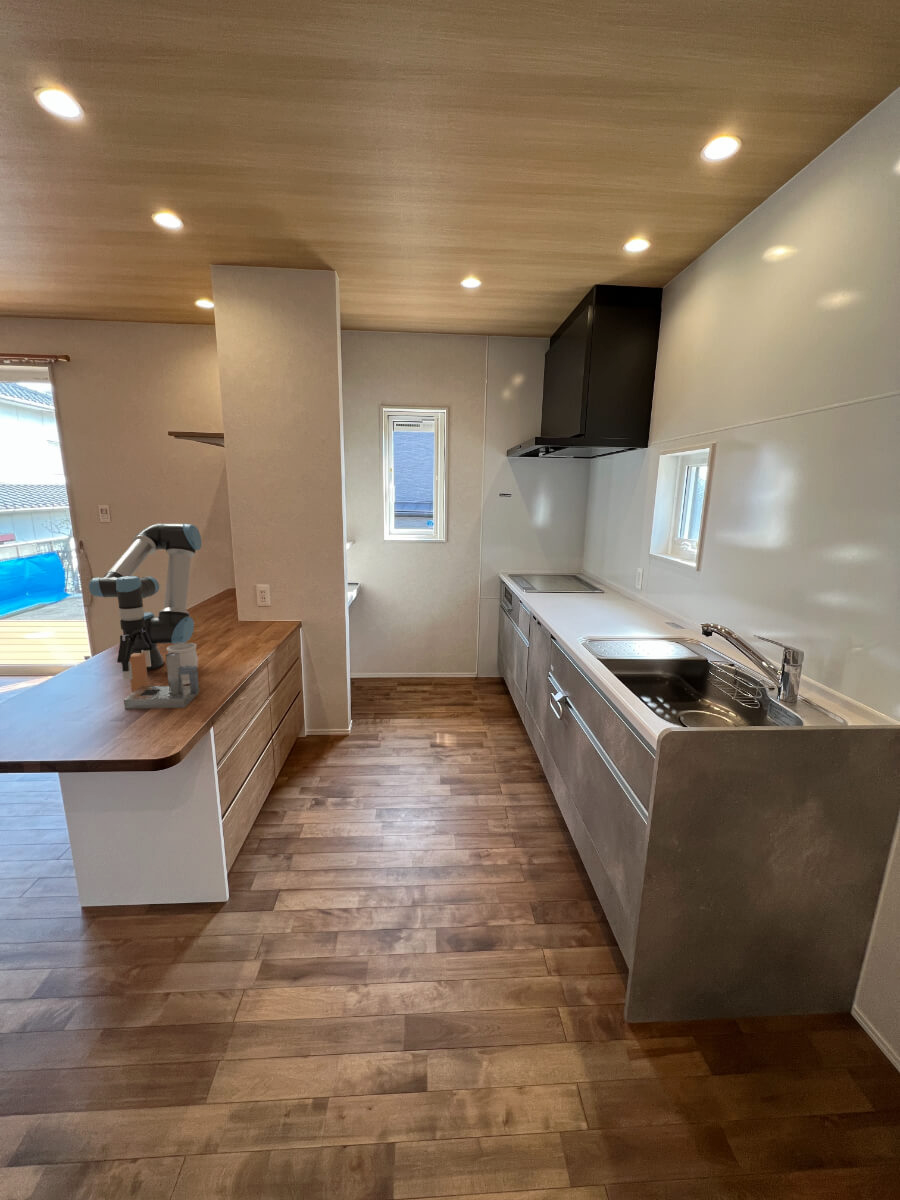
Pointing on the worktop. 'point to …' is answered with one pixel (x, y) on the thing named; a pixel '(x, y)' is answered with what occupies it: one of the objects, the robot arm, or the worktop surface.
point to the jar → (185, 656)
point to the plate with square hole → (167, 688)
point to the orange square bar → (138, 671)
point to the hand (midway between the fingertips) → (138, 672)
